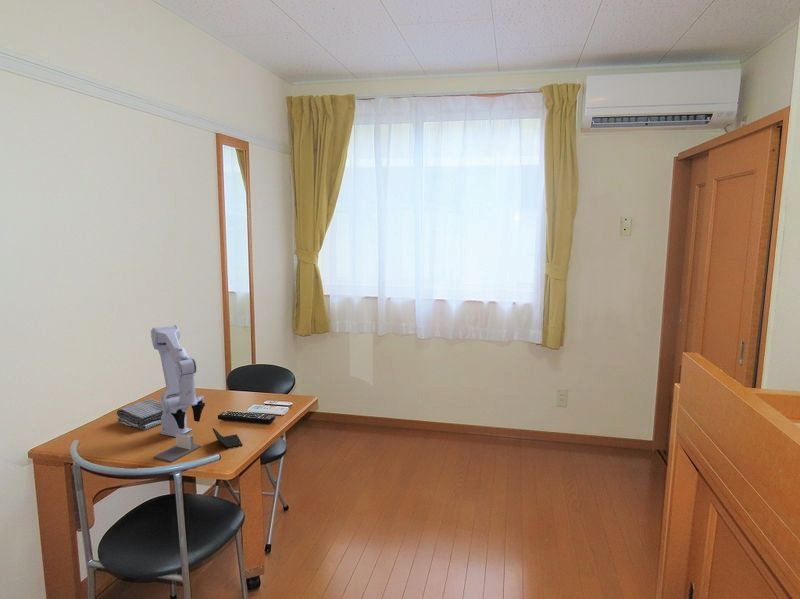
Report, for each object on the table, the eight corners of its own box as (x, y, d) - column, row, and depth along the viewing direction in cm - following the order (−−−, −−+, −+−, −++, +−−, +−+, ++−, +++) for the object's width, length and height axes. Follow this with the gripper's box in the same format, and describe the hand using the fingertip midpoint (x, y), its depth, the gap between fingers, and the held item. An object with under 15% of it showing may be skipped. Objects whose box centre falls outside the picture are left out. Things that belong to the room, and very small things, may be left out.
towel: (148, 412, 229) (147, 396, 228) (175, 420, 221) (173, 403, 219) (116, 424, 216) (114, 406, 215) (142, 432, 207) (141, 414, 206)
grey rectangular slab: (153, 457, 184) (153, 456, 184) (183, 442, 197) (183, 441, 197) (171, 462, 181) (171, 461, 181) (201, 446, 193) (201, 445, 193)
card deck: (176, 446, 193) (175, 433, 192) (179, 444, 194) (179, 432, 193) (190, 449, 190) (189, 436, 189) (193, 447, 191) (192, 435, 191)
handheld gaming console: (247, 440, 195) (229, 424, 191) (234, 456, 192) (215, 439, 188) (237, 435, 204) (220, 419, 200) (224, 449, 201) (206, 434, 197)
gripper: (179, 398, 183) (181, 433, 185) (209, 386, 196) (211, 419, 198) (165, 395, 186) (167, 430, 188) (195, 384, 199) (197, 416, 201)
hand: (189, 424), depth 193 cm, fingers open, 7 cm apart
